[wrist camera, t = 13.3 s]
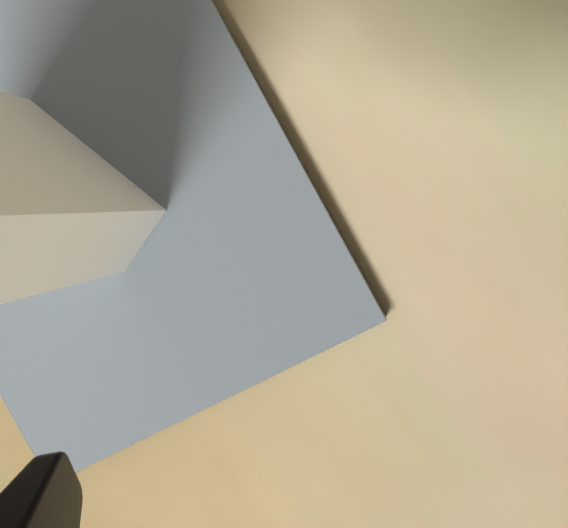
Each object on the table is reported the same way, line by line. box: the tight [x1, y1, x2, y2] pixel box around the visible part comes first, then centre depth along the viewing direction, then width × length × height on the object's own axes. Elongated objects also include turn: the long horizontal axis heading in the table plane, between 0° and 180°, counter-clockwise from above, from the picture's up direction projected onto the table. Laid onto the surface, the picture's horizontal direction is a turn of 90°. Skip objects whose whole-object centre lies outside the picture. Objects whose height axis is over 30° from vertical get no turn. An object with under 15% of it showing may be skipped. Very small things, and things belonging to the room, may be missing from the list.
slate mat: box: [0, 0, 386, 472], centre depth 19 cm, size 20×16×1 cm
